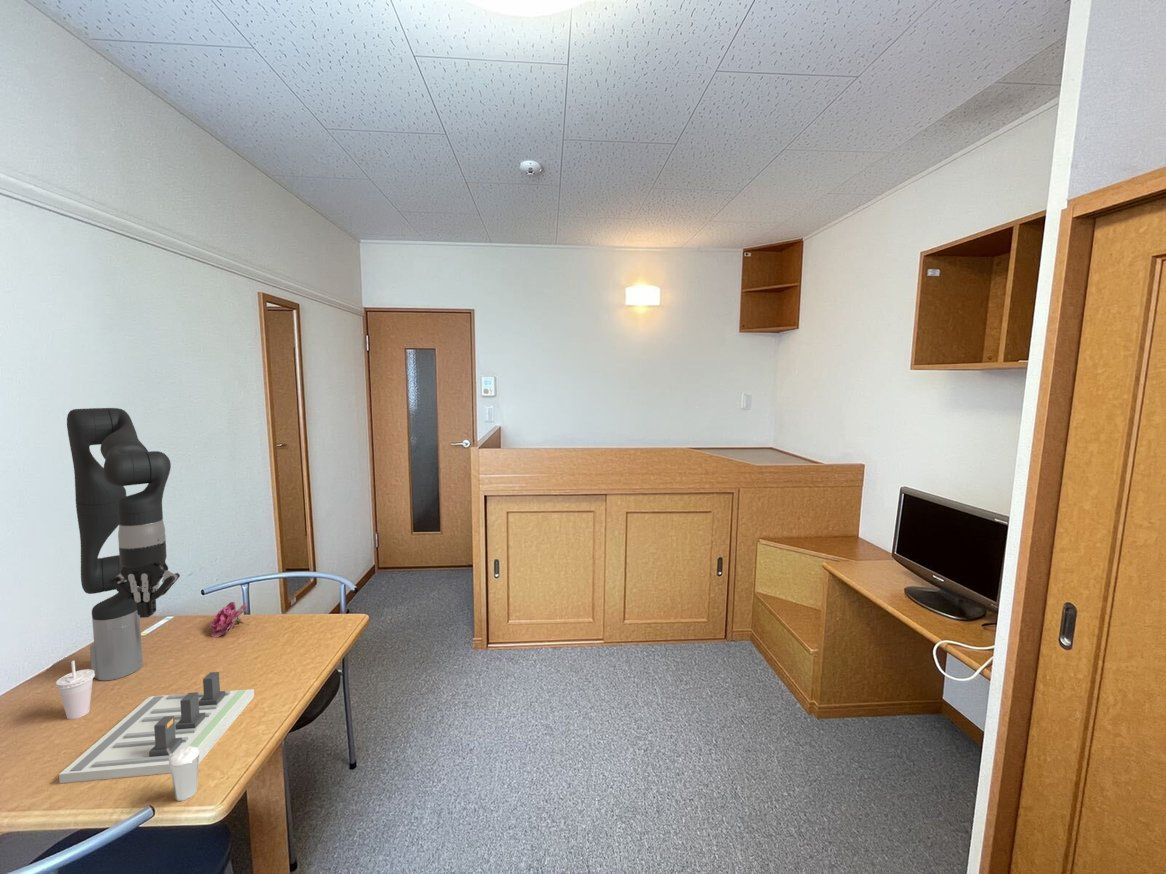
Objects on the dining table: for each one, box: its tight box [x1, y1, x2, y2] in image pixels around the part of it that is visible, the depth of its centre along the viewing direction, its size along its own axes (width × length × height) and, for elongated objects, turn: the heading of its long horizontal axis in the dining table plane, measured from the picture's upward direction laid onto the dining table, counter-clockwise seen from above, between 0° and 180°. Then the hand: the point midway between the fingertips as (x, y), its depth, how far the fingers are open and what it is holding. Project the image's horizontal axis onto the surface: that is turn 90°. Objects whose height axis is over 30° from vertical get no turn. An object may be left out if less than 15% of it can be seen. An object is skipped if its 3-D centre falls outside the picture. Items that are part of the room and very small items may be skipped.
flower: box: [209, 601, 251, 638], centre depth 152 cm, size 11×10×10 cm
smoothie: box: [55, 660, 95, 720], centre depth 112 cm, size 6×6×14 cm
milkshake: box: [166, 746, 199, 802], centre depth 91 cm, size 4×5×10 cm
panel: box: [58, 671, 255, 784], centre depth 106 cm, size 24×24×9 cm
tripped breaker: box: [149, 716, 182, 757], centre depth 99 cm, size 4×4×7 cm
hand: (147, 615), depth 103 cm, fingers closed
